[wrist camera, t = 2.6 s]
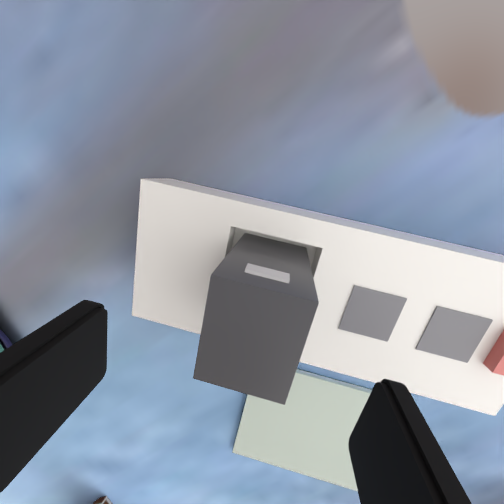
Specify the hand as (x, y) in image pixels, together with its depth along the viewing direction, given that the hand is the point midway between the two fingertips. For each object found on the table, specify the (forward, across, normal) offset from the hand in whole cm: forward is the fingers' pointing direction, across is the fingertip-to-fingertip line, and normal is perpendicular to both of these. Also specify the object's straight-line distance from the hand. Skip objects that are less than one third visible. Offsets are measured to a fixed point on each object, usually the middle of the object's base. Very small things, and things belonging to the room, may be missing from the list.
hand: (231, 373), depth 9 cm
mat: (+12, -9, +16) cm, 21 cm away
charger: (+10, -1, 0) cm, 10 cm away
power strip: (+12, -5, +1) cm, 13 cm away
